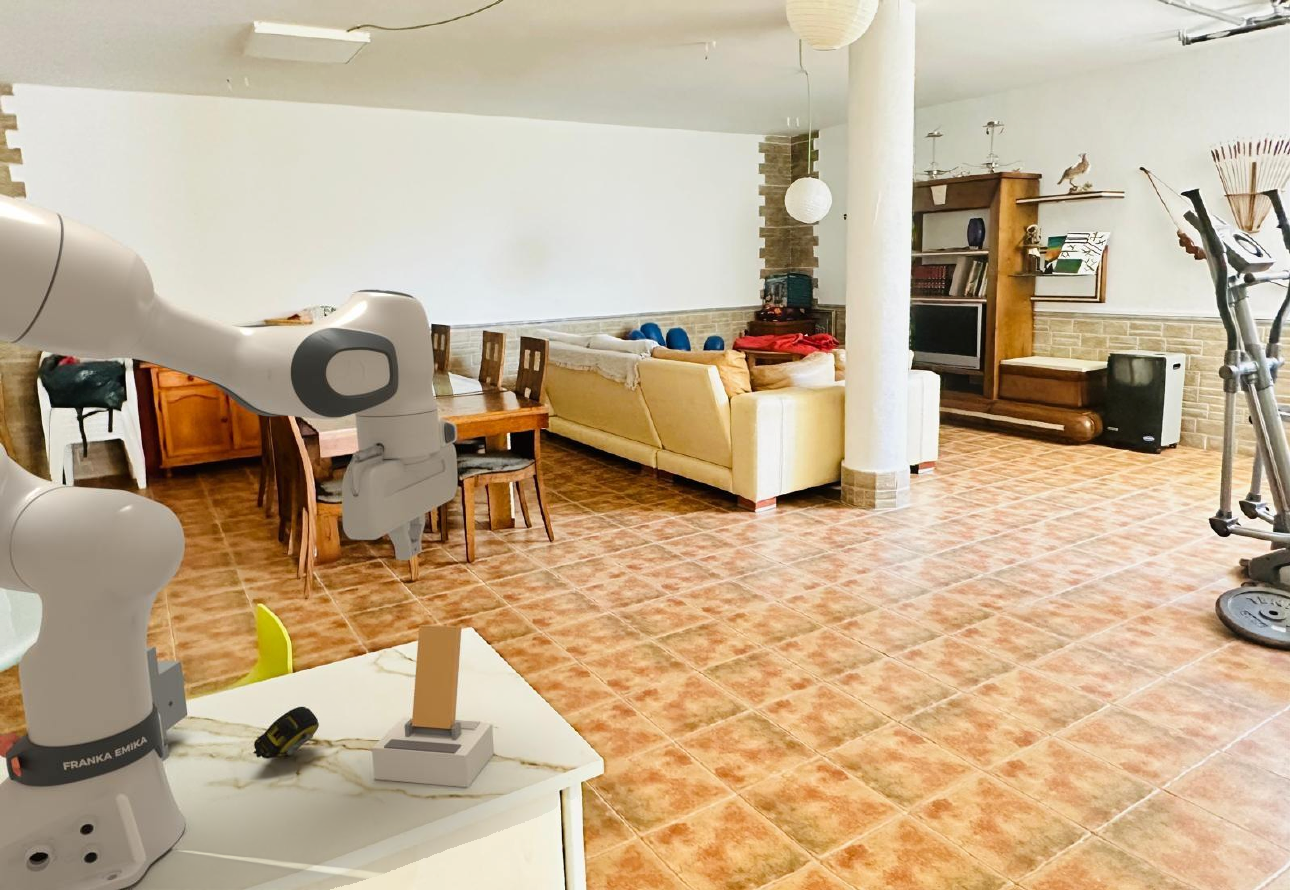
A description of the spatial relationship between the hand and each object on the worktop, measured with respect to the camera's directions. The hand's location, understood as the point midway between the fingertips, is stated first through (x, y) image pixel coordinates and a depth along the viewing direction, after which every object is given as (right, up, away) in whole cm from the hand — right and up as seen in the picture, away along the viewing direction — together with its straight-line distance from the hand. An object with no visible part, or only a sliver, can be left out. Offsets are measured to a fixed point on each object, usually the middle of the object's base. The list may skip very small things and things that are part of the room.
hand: (409, 556), depth 100 cm
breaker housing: (+1, -27, +7) cm, 28 cm away
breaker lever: (+1, -22, +7) cm, 23 cm away
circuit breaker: (-37, -28, +11) cm, 48 cm away
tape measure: (-18, -27, +9) cm, 34 cm away
